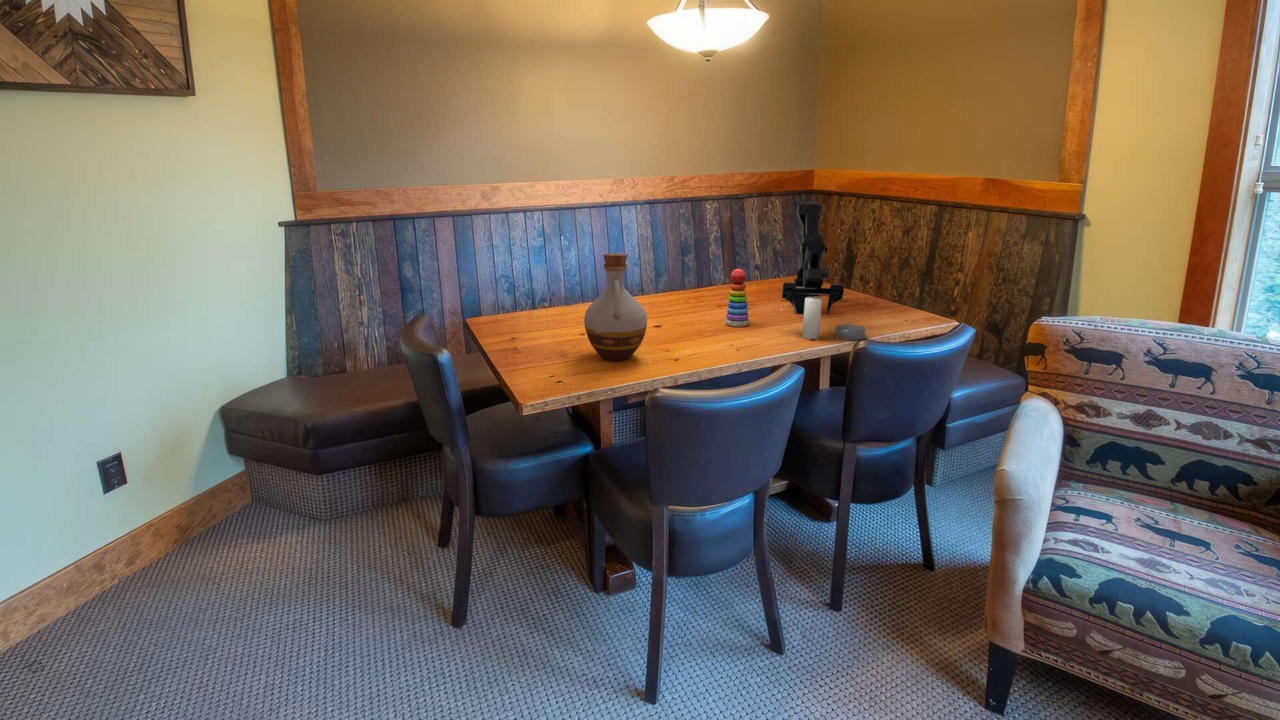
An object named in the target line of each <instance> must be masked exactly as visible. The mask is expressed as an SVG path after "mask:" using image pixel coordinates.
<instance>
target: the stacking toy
mask: <svg viewBox="0 0 1280 720" xmlns="http://www.w3.org/2000/svg"><path fill="white" fill-rule="evenodd" d="M730 279H731V281H732V283H731V284H730V287H729V288H730V290H729V293H728V294H729V296H728V301H727V305H728V306H727V309H726V312H727V313H726V314H725V317H726V318H725V322H724V323H725V324H726V325H727V326H730V327H735V328H736V327H739V328H741V327H746V326H748V325H749V324H750V320H749V313H748V312H749V308H748V304H749V303H748V301H747V300H748V297H747V291H746V287H747V286H746V283H744V282H745V281H746V279H747V274H746V272H745V271H744V269H742V268H736V269H734V270H732V271H731V273H730Z"/></svg>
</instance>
